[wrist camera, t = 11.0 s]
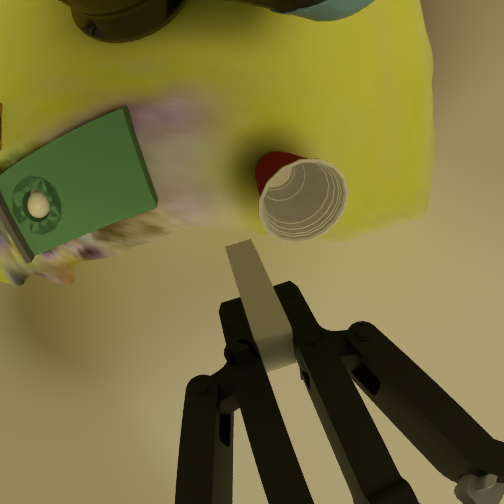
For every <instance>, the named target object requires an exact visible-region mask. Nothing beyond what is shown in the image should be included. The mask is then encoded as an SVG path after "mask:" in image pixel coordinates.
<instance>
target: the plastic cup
mask: <svg viewBox="0 0 504 504" xmlns="http://www.w3.org/2000/svg"><path fill="white" fill-rule="evenodd" d="M255 174H256V180H257V187H258V191H259V195H260V198H259V219H260V221H261V223H262V225H263V227H264V229H265V231H266V232H267V233H268V234H270V235H271V236H272V237H274V238H275V239H276V240H278V241H283V242H287V243H292V244H295V243H303V242H309V241H311V240H314V239H316V238H318V237H320V236H322V235H324V234H325V233H326V232H328V231H329V230H330V229H331V228H332V227H333V226H334V225H335V224H336V223H337V222H338V221H339V219H340V217H341V215H342V214H343V212H344V210H345V209H346V204H347V199H348V194H349V192H348V187H347V183H346V178H345V177H344V175H343V174H342V173H341V172H340V170H339V169H338V168H337V167H336V166H335V165H333V164H331V163H329V162H326V161H324V160H321V159H318V158H314V159H308V158H303V157H300V156H297V155H293V154H290V153H284V152H270V153H268V154H266V155H264V156H263V157H262V158H261V159H260V160H259V161H258V164H257V166H256V169H255Z"/></svg>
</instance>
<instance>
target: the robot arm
mask: <svg viewBox="0 0 504 504" xmlns="http://www.w3.org/2000/svg"><path fill="white" fill-rule="evenodd" d="M59 1H61V2H63V3H64V4H66V5H68V6H69V7H71V13H72V17H73V20H74V22H75V23H76V25H77V26H78V28H79V29H80V30H81V31H82V32H84V33H85V34H87V35H88V36H90V37H92V38H94V39H97V40H99V41H103V42H109V43H123V42H129V41H134V40H138V39H141V38H144V37H146V36H148V35H151V34H153V33H155V32H156V31H158V30H160V29H161V28H163V27H164V26H166V25H167V24H168V23H169V22H171V21H172V20H173V19H174V18H175V17H176V16H177V15H178V14H179V12H180V11H181V10H182V8H183V7H184V5H185V3H186V1H187V0H59ZM228 1H234V2H240V3H245V4H250V5H255V6H260V7H264V8H268V9H270V10H271V11H273V12H275V13H279V14H288V15H295V16H299V17H303V18H306V19H310V20H314V21H335V20H339V19H343V18H346V17H348V16H351V15H353V14H355V13H357V12H359V11H360V10H362V9H363V8H365V7H366V6H368V5H369V4H371V3H372V2H373V1H374V0H228ZM225 248H226V251H227V254H228V258H229V261H230V264H231V268H232V271H233V274H234V277H235V281H236V284H237V287H238V290H239V293H240V297H239V298H236V299H233V300H230V301H226V302H223V303H221V306H220V309H219V315H220V319H221V324H222V328H223V333H224V337H225V341H226V347H225V349H224V356H225V358H226V360H227V362H226V364H225V365H224V367H223V368H222V369H220V370H219V371H218V372H216V373H214V374H213V375H211V376H209V375H198V376H196V377H194V378H192V379H191V380H190V382H189V383H188V385H187V388H186V393H185V401H184V409H183V418H182V427H181V437H180V446H179V456H178V468H177V480H176V494H175V504H232V482H233V481H232V480H233V426H234V411H235V410H237V409H238V408H240V409H241V413H242V416H243V420H244V423H245V427H246V431H247V434H248V438H249V441H250V444H251V448H252V452H253V455H254V458H255V462H256V465H257V468H258V472H259V475H260V478H261V481H262V484H263V487H264V490H265V494H266V497H267V500H268V503H269V504H314V502H313V499H312V497H311V494H310V492H309V489H308V486H307V484H306V481H305V479H304V476H303V473H302V471H301V468H300V465H299V463H298V460H297V457H296V455H295V452H294V449H293V446H292V444H291V441H290V438H289V435H288V433H287V430H286V427H285V424H284V422H283V419H282V416H281V413H280V410H279V408H278V405H277V402H276V399H275V396H274V393H273V390H272V387H271V384H270V382H269V379H268V376H267V373H266V372H269V371H272V370H275V369H279V368H281V367H284V366H287V365H290V364H293V363H296V360H297V362H298V364H299V367H300V376H301V380H302V379H303V380H304V383H305V385H306V387H307V390H308V392H309V395H310V397H311V399H312V402H313V404H314V407H315V409H316V411H317V414H318V416H319V418H320V421H321V423H322V425H323V428H324V430H325V433H326V435H327V437H328V440H329V442H330V445H331V447H332V449H333V452H334V454H335V456H336V459H337V461H338V463H339V466H340V468H341V471H342V473H343V475H344V478H345V480H346V482H347V485H348V487H349V489H350V492H351V494H352V497H353V502H354V504H419V502H418V500H417V498H416V496H415V494H414V492H413V490H412V488H411V486H410V484H409V483H408V482H407V481H406V480H405V479H403V478H402V477H401V476H400V474H399V472H398V470H397V468H396V466H395V464H394V462H393V460H392V458H391V456H390V454H389V452H388V449H387V448H386V445H385V443H384V441H383V439H382V437H381V435H380V433H379V432H378V429H377V428H376V425H375V423H374V422H373V419H372V418H371V416H370V414H369V412H368V410H367V408H366V406H365V404H364V402H363V400H362V398H361V396H360V394H359V392H358V390H357V388H356V387H355V385H354V383H353V381H354V382H355V383H356V384H357V385H358V386H359V387H360V388H361V389H362V390H363V391H364V393H365V394H366V395H367V396H368V397H369V398H370V399H371V400H372V401H373V402H374V403H375V404H376V406H377V407H378V408H379V409H380V410H381V411H382V412H383V413H384V414H385V415H386V416H387V417H388V418H389V419H390V421H391V422H392V423H393V424H394V425H395V426H396V427H397V428H398V429H399V430H400V431H401V432H402V433H403V434H404V435H405V436H406V437H407V439H408V440H410V442H411V443H412V444H413V445H414V446H415V447H416V448H417V449H418V450H419V451H420V452H421V453H422V454H423V455H424V456H425V458H426V459H427V460H428V461H429V462H430V463H431V464H432V465H433V466H434V467H435V468H436V469H437V470H438V471H439V472H440V473H442V474H443V475H444V476H445V477H447V478H448V479H450V480H451V481H454V482H456V483H458V484H457V486H456V487H455V489H454V493H455V495H456V497H457V498H458V499H459V500H460V501H461V502H462V503H463V504H499V503H500V501H501V499H502V497H503V495H504V442H501V441H498V440H495V439H493V438H492V437H491V436H490V435H489V434H488V433H487V432H486V431H485V430H484V429H483V428H482V427H481V426H480V425H479V424H478V423H477V422H476V421H475V420H474V419H473V418H472V417H471V416H470V415H469V414H468V413H467V412H466V411H465V410H464V409H463V408H462V407H461V406H460V405H459V404H458V403H457V402H456V401H454V399H453V398H451V397H450V396H449V395H448V394H447V393H446V392H445V391H444V390H443V389H442V388H441V387H440V386H439V385H438V384H437V383H436V382H435V381H434V380H432V379H431V378H430V377H429V376H428V375H427V374H426V373H425V372H424V371H423V370H422V369H421V368H420V367H419V366H418V365H416V364H415V363H414V362H413V361H412V360H411V359H410V358H409V357H408V356H407V355H406V354H405V353H404V352H402V351H401V350H400V349H399V348H398V347H397V346H396V345H395V344H394V343H393V342H392V341H390V340H389V339H388V338H387V337H386V336H385V335H384V334H383V333H382V332H380V331H379V330H378V329H377V328H376V327H375V326H374V325H372V324H371V323H369V322H365V321H361V322H356V323H354V324H352V325H351V326H350V327H349V329H348V330H342V331H329V330H326V329H324V328H322V327H321V326H319V324H318V323H317V321H316V319H315V317H314V316H313V314H312V312H311V310H310V308H309V306H308V305H307V303H306V301H305V299H304V297H303V295H302V294H301V292H300V290H299V288H298V286H296V285H295V284H294V283H292V282H291V281H287V282H284V283H282V284H278V285H275V286H272V283H271V282H270V279H269V277H268V275H267V273H266V270H265V268H264V266H263V264H262V262H261V259H260V257H259V255H258V253H257V251H256V249H255V247H254V244H253V242H252V240H251V239H249V240H246V241H243V242H239V243H237V244H233V245H230V246H226V247H225ZM352 380H353V381H352Z"/></svg>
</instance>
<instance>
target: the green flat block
mask: <svg viewBox="0 0 504 504" xmlns="http://www.w3.org/2000/svg"><path fill="white" fill-rule="evenodd" d="M37 190H39V191H40V192H42V193H43V194H44V195H45V196H46V198H47V200H48V202H49V204H50V211H49V213H48V214H47V215H46V216H44V217H42V218H35V217H33V216H32V215H31V214H30V213H29V211H28V206H27V203H28V199H29V197H30V195H31V194H32V193H33V192H35V191H37ZM30 192H31V194H30ZM157 202H158V198H157V195H156V193H155V190H154V187H153V184H152V182H151V179H150V176H149V173H148V170H147V168H146V165H145V162H144V159H143V156H142V153H141V150H140V147H139V144H138V141H137V138H136V135H135V132H134V129H133V126H132V122H131V119H130V116H129V113H128V109H127V106H126V107H123V108H121V109H118V110H116V111H113V112H111V113H109V114H106V115H104V116H102V117H100V118H97V119H95V120H93V121H91V122H89V123H87V124H85V125H83V126H80V127H78V128H76V129H74V130H73V131H71V132H69V133H67V134H65V135H63V136H61V137H59V138H57V139H56V140H54V141H52V142H50V143H48V144H47V145H45V146H43V147H42V148H40V149H38V150H37V151H35V152H33V153H32V154H30V155H29V156H27V157H25V158H24V159H22V160H21V161H19V162H18V163H16V164H15V165H13V166H12V167H10V168H9V169H8V170H6V171H5V172H3V173H2V174H1V175H0V218H1V220H2V222H3V224H4V226H5V228H6V229H7V231H8V233H9V235H10V237H11V238H12V240H13V242H14V244H15V245H16V247H17V249H18V250H19V252H20V254H21V255H22V257H23V259H24V260H25V262H26V263H30V262H32V260H33V258H34V257H35V256H36V255H38V254H40V253H43V252H45V251H47V250H49V249H51V248H54V247H56V246H58V245H61V244H63V243H65V242H68V241H70V240H72V239H75V238H77V237H80V236H82V235H85V234H87V233H90V232H92V231H95V230H97V229H100V228H102V227H105V226H108V225H110V224H113V223H115V222H118V221H121V220H124V219H126V218H129V217H132V216H135V215H137V214H140V213H143V212H146V211H149V210H152V209H154V208H157Z"/></svg>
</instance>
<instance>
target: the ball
mask: <svg viewBox="0 0 504 504" xmlns="http://www.w3.org/2000/svg"><path fill="white" fill-rule="evenodd" d="M27 206H28V211H29V213H30V214H31V215H32V216H33V217H35V218H42V217H44V216H46V215H47V214H48V213H49V211H50V204H49V202H48V200H47V198H46V196H45V195H44V194H43V193H42V192H40V191H39V190H37V191H35V192H33V193H32V194H31V195H30V197H29V199H28V203H27Z"/></svg>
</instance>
